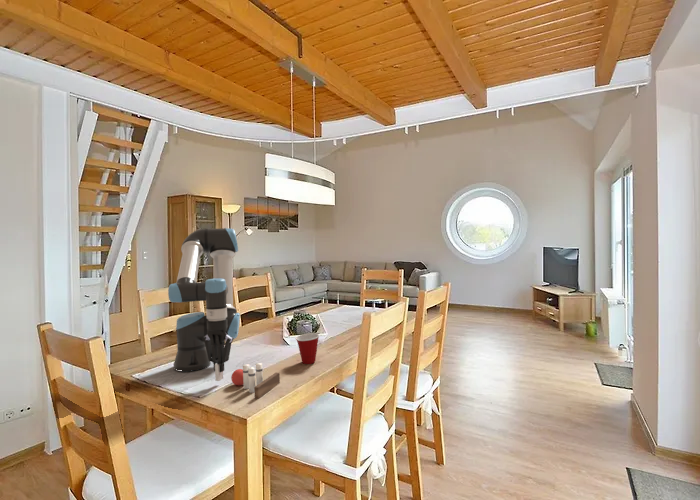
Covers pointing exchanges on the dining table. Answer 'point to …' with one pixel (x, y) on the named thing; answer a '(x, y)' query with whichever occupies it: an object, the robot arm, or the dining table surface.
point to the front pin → (245, 376)
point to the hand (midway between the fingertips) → (219, 379)
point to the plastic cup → (308, 347)
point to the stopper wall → (267, 385)
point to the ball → (237, 377)
